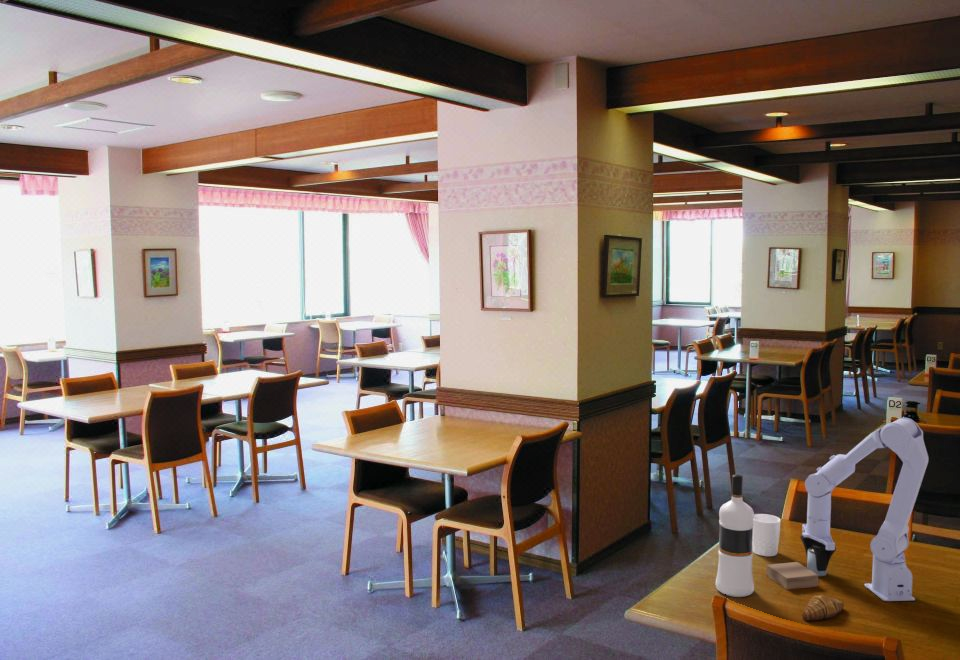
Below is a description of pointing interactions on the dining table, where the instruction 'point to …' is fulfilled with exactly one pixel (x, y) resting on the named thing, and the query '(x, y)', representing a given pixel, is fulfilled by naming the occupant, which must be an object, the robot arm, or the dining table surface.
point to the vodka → (735, 544)
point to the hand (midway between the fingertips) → (816, 566)
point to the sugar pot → (813, 563)
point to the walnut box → (792, 575)
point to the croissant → (822, 608)
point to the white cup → (765, 534)
